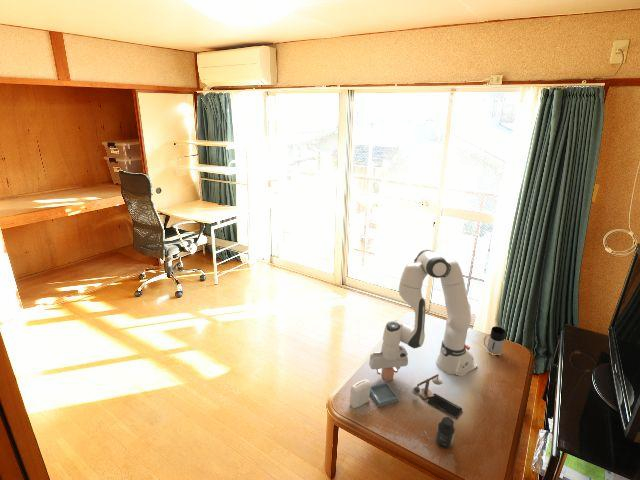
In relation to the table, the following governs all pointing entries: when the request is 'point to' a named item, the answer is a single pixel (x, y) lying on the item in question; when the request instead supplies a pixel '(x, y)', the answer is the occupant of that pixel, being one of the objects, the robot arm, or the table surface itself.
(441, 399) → the phone
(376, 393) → the dish
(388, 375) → the terracotta block
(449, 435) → the supplement bottle
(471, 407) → the table surface
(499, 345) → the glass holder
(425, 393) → the tipped balance
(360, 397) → the photo printer
